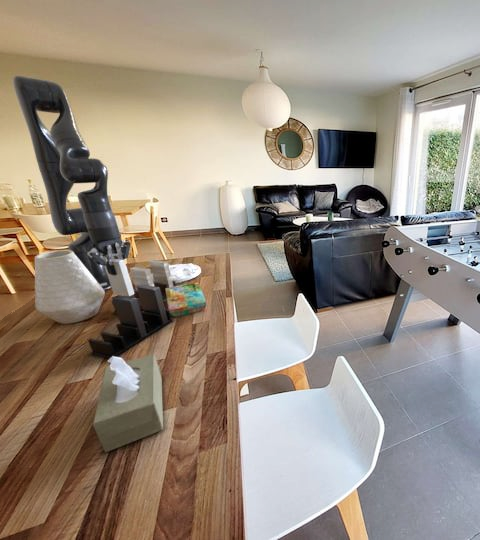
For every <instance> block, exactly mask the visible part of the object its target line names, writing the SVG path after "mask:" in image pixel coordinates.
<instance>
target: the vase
mask: <svg viewBox="0 0 480 540" xmlns="http://www.w3.org/2000/svg"><path fill="white" fill-rule="evenodd" d="M105 295H106V290H104V289H103V288H102V287H101V285H100V284H99V283H98V282H97V281H96V279H95V278H94V277H93V276H92V274H91V273H90V272H89V271H88V270H87V268H86V267H85V266H84V265H83V263H82V262H81V261H80V260H79V258H78V257H77V256H76V255H75V254H74V252H73V251H71V250H69V249H59V250H52V251H46V252H43V253H39V254H37V255H36V256H34V308H35V310H36V311H37V312H39V313H40V314H43V316H46V317H47V318H49V319H51V320H53V321H55V322H57V323H58V324H62V325H63V324H65V325H66V324H67V325H68V324H75V323H79V322H83V321H85V320H89V319H90V318H93V317H94V316H96V315H97V314H98V313H99V311H100V309H101V306H102V303H103V300H104V298H105Z"/></svg>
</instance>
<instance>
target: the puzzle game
mask: <svg viewBox="0 0 480 540" xmlns="http://www.w3.org/2000/svg"><path fill="white" fill-rule="evenodd" d="M165 290H166V297H167V298H166V303H167V309H169V312H170V316H173V317H175V318H177V317H181V316H186V315H190V314H194V313H198V312H203V311H204V309H205V308H206V306H207V301H206V298H205V297H204V293H203V292H202V289H201V287H200V283H199V282H197V281H196V282H192V283H191V282H190V283H185V284H180V285H176V286H175V287H170V288H165Z"/></svg>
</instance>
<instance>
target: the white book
mask: <svg viewBox="0 0 480 540" xmlns="http://www.w3.org/2000/svg"><path fill="white" fill-rule="evenodd" d="M125 260H126V259H124V260H120V259H114V258H112V261H113V265H114V266H115V269H116V273H117V275H110V274H109V273H108V271H107V268H106V266H105V269H106V272H107V275H108V278H109V281H110V284H111V290H112V293H113V295H121V296H128V297H132V296H134V294H135V293H134V290H135V289H134V287H133V284H132V280H131V277H130V274H129V270H128V267H127V264H126V261H125Z"/></svg>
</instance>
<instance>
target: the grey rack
mask: <svg viewBox="0 0 480 540" xmlns="http://www.w3.org/2000/svg"><path fill="white" fill-rule="evenodd" d="M137 289H138V293H139V296H140V300H141V303H142V307H143V311H141V312H140V308H139V305H138V302H137V298H135V297H133V298H132V296H128V297H126V296H125V295H119V294H116V295H115V296H113V297H111V299H112V300H113V303H114V306H115V309H116V312H117V314H116V315H117V318H118V321H119V323H117V324H116V325H115V326H116V329H117V332H118V334H114V333H109V332H105V331H102V332H100V336H101V339H102V340H99V339H95V338H88V339H87V342H88V344H89V347H90V349H91V351H90V354H91V355H92V356H95V357H100V358H103V359H107V360H109V359H110V358H111V357H112V356H115V357H119V356H121V355H122V354H124V353H125V352H127V351H129V350H130V349H132V348H134V347H135V346H137V345H138V344H139V343H141V342H143V341H145V340H146V339H147V338H149V337H151V336H152V335H154V334H155V333H157V332H158V331H160V330H161V329H163V328H165V327H166V326H168V325H170V324H171V323H172V322H174V320H173V318H172V315H171V314H170V312H169V309H168V308H165V303H164V299H162V295H161V291H160V288H159V287H155V286H149V285H143V284H142V285H140V286H138V287H137ZM112 300H111V301H112Z"/></svg>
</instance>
